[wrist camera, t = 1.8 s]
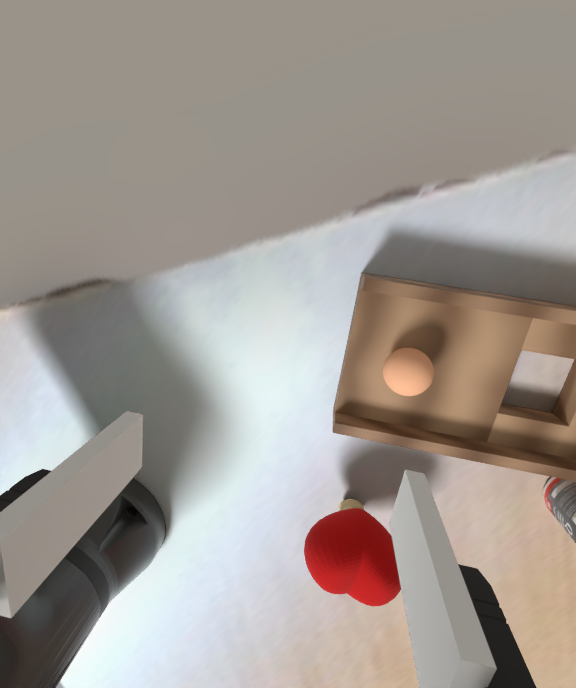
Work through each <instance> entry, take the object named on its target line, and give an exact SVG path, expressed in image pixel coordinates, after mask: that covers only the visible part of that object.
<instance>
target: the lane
mask: <svg viewBox="0 0 576 688" xmlns="http://www.w3.org/2000/svg"><path fill="white" fill-rule="evenodd" d="M401 348H414V349H417V350H420V351H422V352H423V353H424V354H426V355H427V356H428V357H429V359H430V360H431V362H432V364H433V368H434V377H433V381H432V383H431V385H430V386H429V387H428V388H427V389H426V390H425V391H424V392H422V393H421V394H418V395H415V396H403V395H400V394H397V393H396V392H394V391H393V390H391V389H390V388H389V387H388V385H387V384H386V382H385V380H384V377H383V366H384V363H385V361H386V359H387V357H388V356H389V355H390V354H391V353H393V352H394V351H396V350H398V349H401ZM521 350H525V351H531V352H536V353H542V354H548V355H554V356H560V357H566V358H572V359H575V360H574V363H573V365H572V367H571V370H570V372H569V374H568V377H567V379H566V381H565V384H564V386H563V388H562V391H561V393H560V395H559V398H558V400H557V402H556V405H555V407H554V410H553V412H552V413H549V412H544V411H539V410H533V409H528V408H522V407H517V406H512V405H506V404H501V403H502V400H503V398H504V395H505V392H506V390H507V387H508V384H509V382H510V379H511V376H512V373H513V371H514V368H515V365H516V363H517V360H518V357H519V355H520V352H521ZM333 433H337V434H342V435H347V436H352V437H357V438H362V439H367V440H372V441H377V442H382V443H387V444H392V445H397V446H402V447H407V448H412V449H417V450H422V451H427V452H432V453H436V454H441V455H446V456H451V457H456V458H461V459H466V460H471V461H476V462H481V463H486V464H491V465H496V466H501V467H506V468H511V469H516V470H521V471H526V472H531V473H536V474H541V475H546V476H551V477H556V478H561V479H566V480H571V481H576V306H570V305H564V304H557V303H551V302H545V301H538V300H532V299H526V298H519V297H513V296H507V295H500V294H494V293H487V292H481V291H475V290H468V289H462V288H456V287H449V286H443V285H437V284H430V283H424V282H418V281H411V280H405V279H399V278H392V277H386V276H379V275H373V274H367V273H361V277H360V282H359V287H358V292H357V297H356V302H355V307H354V312H353V316H352V321H351V326H350V331H349V336H348V341H347V346H346V350H345V355H344V360H343V365H342V370H341V375H340V380H339V385H338V389H337V394H336V399H335V404H334V409H333Z"/></svg>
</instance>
